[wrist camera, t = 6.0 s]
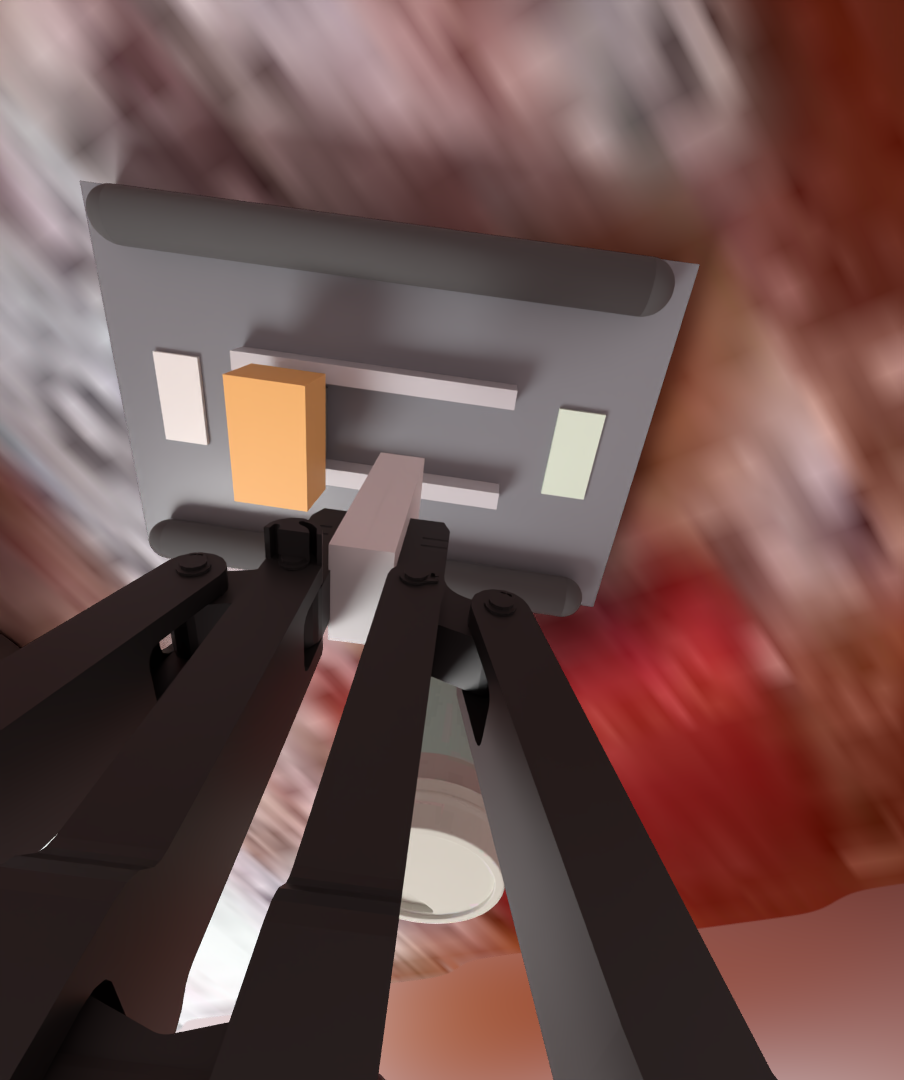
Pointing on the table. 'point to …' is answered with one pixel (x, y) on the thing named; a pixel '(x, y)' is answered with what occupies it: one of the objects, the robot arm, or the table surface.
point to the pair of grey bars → (385, 258)
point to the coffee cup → (448, 825)
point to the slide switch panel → (395, 397)
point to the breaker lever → (277, 435)
